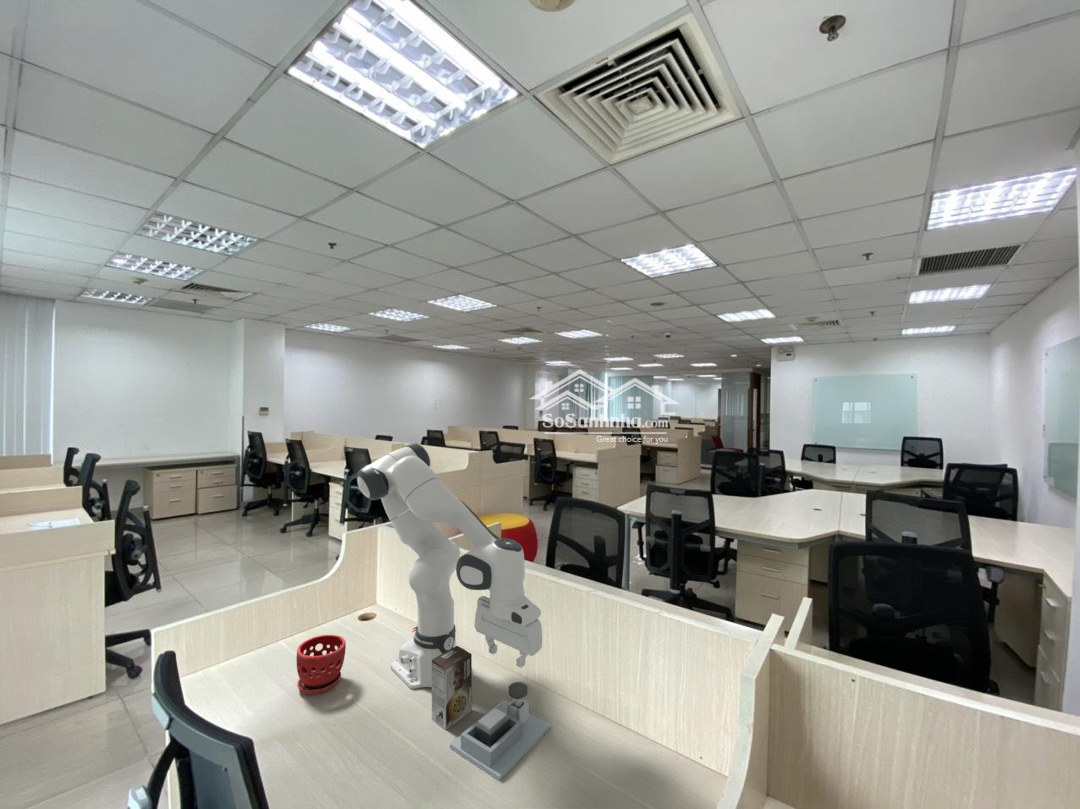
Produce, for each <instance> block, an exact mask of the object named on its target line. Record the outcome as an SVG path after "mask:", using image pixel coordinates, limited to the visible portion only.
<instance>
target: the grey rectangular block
mask: <svg viewBox="0 0 1080 809" xmlns="http://www.w3.org/2000/svg"><path fill="white" fill-rule="evenodd" d="M490 710H491V709H490ZM490 710H489V711H490ZM489 711H488V712H489ZM485 714H486V713H485ZM485 714H484V715H485ZM484 715H483V716H484ZM479 719H480V718H479ZM479 719H478V720H479ZM478 720H477V721H478ZM509 730H510V718H509V717H507V714H506V713H504V712H502V711H500V710H498V709H496V708H494V709H493V710H491V711H490V712H489V713H488V714H486V715H485V716H484V717H483V718H482V719H480V720H479V721H478V724H477V725H476V726H475V739H476V740H478V741H480V742H481V743H483V744H484V745H486V746H488V747H489V748H490V747H492V746H493V745H494V744H495V743H496V742H497V741H498V740H499V739H500V738H501V737H502V736H503V735H505V734H506V733H507V732H508V731H509Z"/></svg>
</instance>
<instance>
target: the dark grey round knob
mask: <svg viewBox="0 0 1080 809" xmlns="http://www.w3.org/2000/svg"><path fill="white" fill-rule="evenodd" d="M528 689H529V688H528V685H527V684H526V683H524V682H522V681H515V682H512V683H511V684H509V686H508V696H510V698H512V699H514V707H516V708H521V707H522V699H523V698H525V697H526V696H527V695H528V694H529V693H528Z"/></svg>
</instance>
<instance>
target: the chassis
mask: <svg viewBox="0 0 1080 809" xmlns="http://www.w3.org/2000/svg"><path fill="white" fill-rule="evenodd" d="M529 706H530V703H528V702H527V701H526V700H525V699H523V698H522V707H521V708H516V707H514V698H512V700H510V701H506V700H505V699H502V701H500V702H499V703H498V704H496V705H495V706H493V707H492V708H491V709H490V710H489V711H487V712H486V713H484V715H483V716H481V717H480V718H479V719H478V720H476V721H475V722H474V723H472V725H470V726H469V727H468V728H467V729H465V730H464V731H463V732H462V733H461V734H460V735H458V736H457V737H456V738H455V739H454V740H453V741H452V742H450V743H449V749H451V750H452V751H454V752H455V753H457V754H458V755H460V756H461V757H463V758H464V759H466V760H468V762H470V763H472V764H473V765H474V766H475V767H477V768H480V770H482V771H483V772H484V773H486V774H488V775H490V776H491V777H492V778H494V779H495V780H496V781H498V782H500V781H501V780H502V779H503V778H504V777H505V776H506V775H507V774H508V773H509V772H510V771H511V770H512V769H513V768H514V767H515V766H516V765H517V764H518V762H519V761H521V760H522V758H524V756H525V755H526V754H527V753H528V752H529V751H530V750H531V749H533V747H534V746H535V745H536V744H537V743H538V742H539V741H540V740H541V739H542V738H543V737H544V736H545V735H546V734H547V732H548V731H550V729H551V724H550V723H548V722H547V721H545V720H542V719H541V718H539V717H537V716H535V715H534V714H532V713H529V711H530V710H529V709H530V707H529ZM494 708H496V709H498V710H500V711H502V712H504V713H506V714H507V717H509V718H510V730H509V731H508V732H507V733H506V734H505V735H503V736H502V737H501V738H500V739H499V740H498V741H497V742H496V743H495V744H494V745H493V746H492V747H490V748H489V747H488V746H486V745H484V744H483V743H481V742H480V741H478V740H476V739H475V726H476V725H477V724H478V721H479V720H480V719H482V718H483V717H484V716H485V715H486V714H488V713H489V712H490V711H491V710H493V709H494Z"/></svg>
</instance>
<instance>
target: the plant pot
mask: <svg viewBox="0 0 1080 809" xmlns="http://www.w3.org/2000/svg"><path fill="white" fill-rule="evenodd" d="M319 644H321V645H322V648H321V649H319V650H317V649H316V647H317V646H318V645H319ZM328 646H329V647H328ZM336 647H337V649H336ZM311 648H312V649H311ZM346 649H347V648H346V640H345V638H344V637H342V636H340V635H336V634H321V635H318V636H314V637H311V638H309V639H306V640H304V641H303V642H302V643H300V644H299V646H298V647H297V650H296V659H295V660H296V671H297V675H298V681H297V684H296V685H297V688H298V690H299V691H300V692H301V693H303V694H306V695H317V694H321V693H322V694H323V693H325V692H327V691H329V690H332V688H334V687H335V686H336V685H338V683H339V682H340V681H341V678H342V672H341V670H342V668H343V665H344V661H345V656H346ZM325 651H326V654H324V653H323V652H325ZM311 654H313V655H311Z"/></svg>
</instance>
